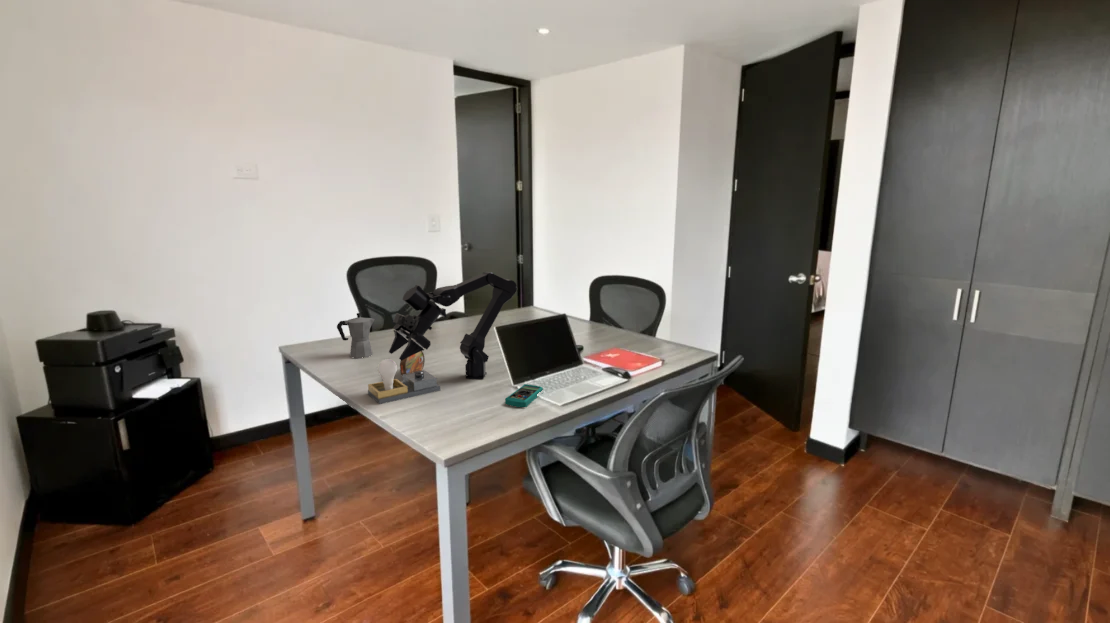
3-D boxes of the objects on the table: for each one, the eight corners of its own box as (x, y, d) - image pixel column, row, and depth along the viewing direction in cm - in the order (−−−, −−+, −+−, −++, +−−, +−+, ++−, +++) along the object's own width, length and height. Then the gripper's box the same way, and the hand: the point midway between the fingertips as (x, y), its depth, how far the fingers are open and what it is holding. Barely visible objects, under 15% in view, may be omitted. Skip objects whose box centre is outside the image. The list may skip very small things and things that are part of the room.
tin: (407, 381, 181) (405, 358, 179) (398, 380, 182) (397, 358, 180) (425, 368, 195) (424, 347, 194) (418, 367, 196) (417, 346, 194)
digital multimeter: (503, 406, 161) (503, 397, 160) (524, 390, 174) (524, 382, 173) (524, 410, 158) (524, 401, 157) (543, 394, 171) (543, 385, 171)
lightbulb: (402, 389, 169) (400, 357, 166) (391, 395, 163) (388, 362, 161) (386, 387, 171) (384, 355, 168) (375, 393, 165) (372, 360, 163)
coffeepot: (373, 350, 218) (370, 309, 215) (381, 355, 211) (378, 313, 208) (336, 356, 209) (332, 313, 205) (343, 362, 202) (339, 317, 198)
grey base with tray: (426, 381, 181) (426, 365, 180) (440, 390, 172) (439, 373, 171) (368, 393, 168) (366, 376, 167) (379, 404, 160) (378, 386, 159)
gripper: (397, 300, 173) (367, 336, 169) (419, 309, 159) (386, 348, 154) (420, 319, 180) (391, 354, 175) (443, 330, 165) (412, 368, 161)
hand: (395, 356), depth 166 cm, fingers open, 9 cm apart
